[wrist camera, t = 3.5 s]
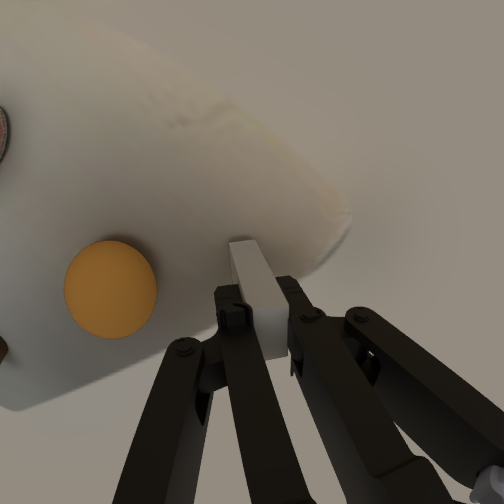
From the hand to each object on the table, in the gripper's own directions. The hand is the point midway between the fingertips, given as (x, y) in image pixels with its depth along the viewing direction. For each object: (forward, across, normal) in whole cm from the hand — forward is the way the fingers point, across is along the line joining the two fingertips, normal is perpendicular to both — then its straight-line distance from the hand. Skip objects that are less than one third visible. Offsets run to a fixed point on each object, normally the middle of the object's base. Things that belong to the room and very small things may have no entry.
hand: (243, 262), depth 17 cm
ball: (-1, -8, 0) cm, 8 cm away
